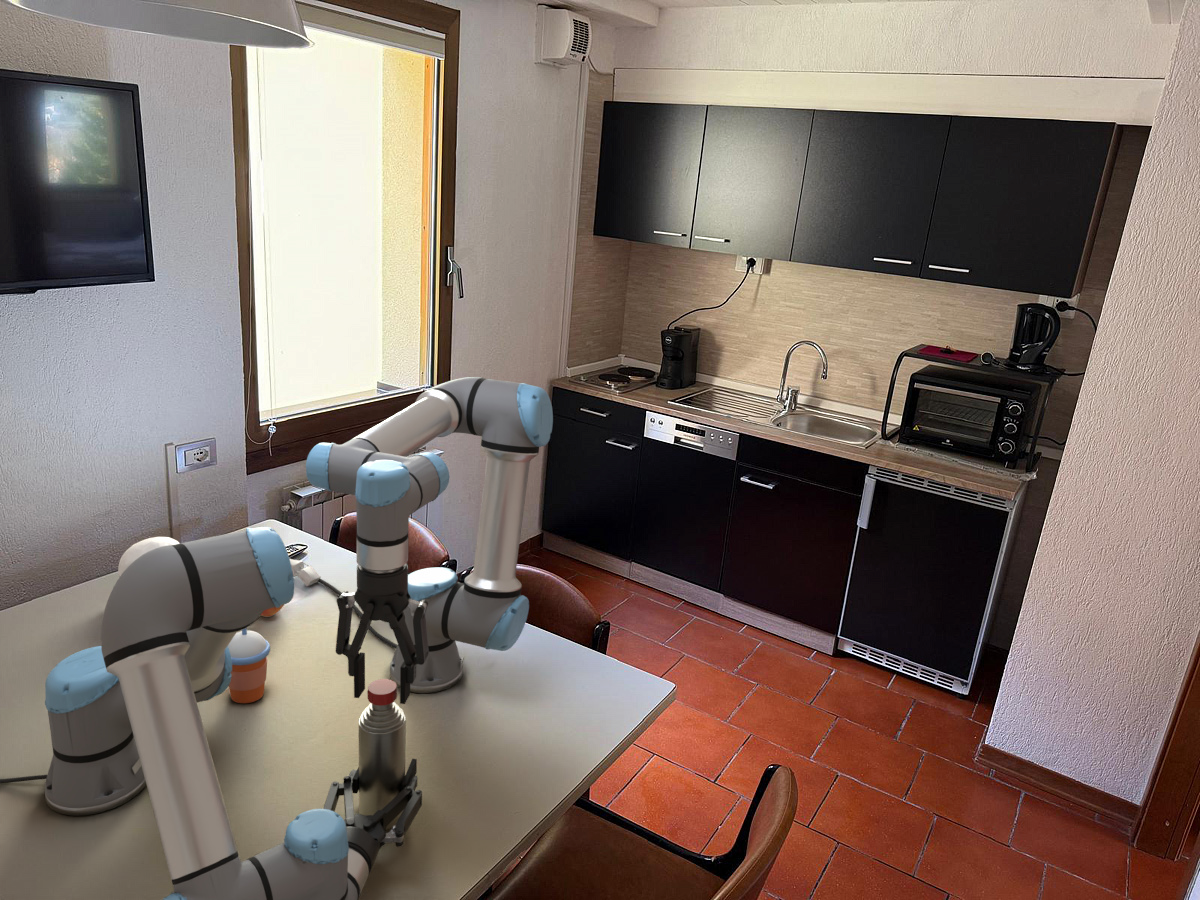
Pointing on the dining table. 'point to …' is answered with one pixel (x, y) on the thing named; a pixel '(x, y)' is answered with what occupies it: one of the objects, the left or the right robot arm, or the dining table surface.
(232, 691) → the cup with straw
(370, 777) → the bottle
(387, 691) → the cap
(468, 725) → the dining table surface
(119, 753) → the left robot arm
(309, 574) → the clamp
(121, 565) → the skull
